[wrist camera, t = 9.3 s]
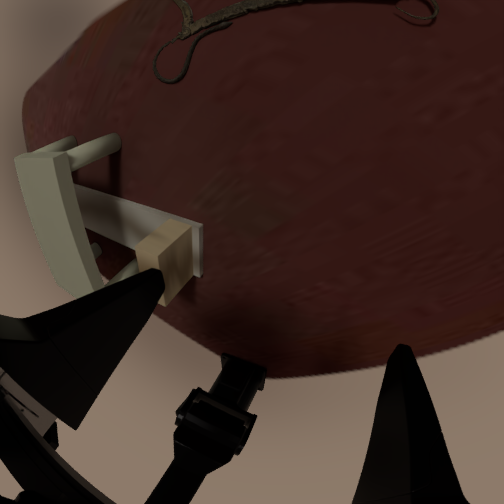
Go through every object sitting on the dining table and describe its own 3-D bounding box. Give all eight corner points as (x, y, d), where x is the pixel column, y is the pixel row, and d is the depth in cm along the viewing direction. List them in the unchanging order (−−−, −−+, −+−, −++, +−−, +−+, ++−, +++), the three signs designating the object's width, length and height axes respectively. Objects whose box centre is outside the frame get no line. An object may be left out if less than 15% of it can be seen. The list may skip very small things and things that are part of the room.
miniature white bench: (147, 275, 33) (105, 317, 27) (95, 253, 36) (57, 284, 30) (121, 130, 22) (52, 158, 16) (67, 134, 25) (13, 158, 19)
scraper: (204, 271, 28) (172, 310, 24) (82, 220, 34) (51, 242, 29) (204, 222, 25) (165, 259, 20) (74, 182, 30) (39, 202, 25)
